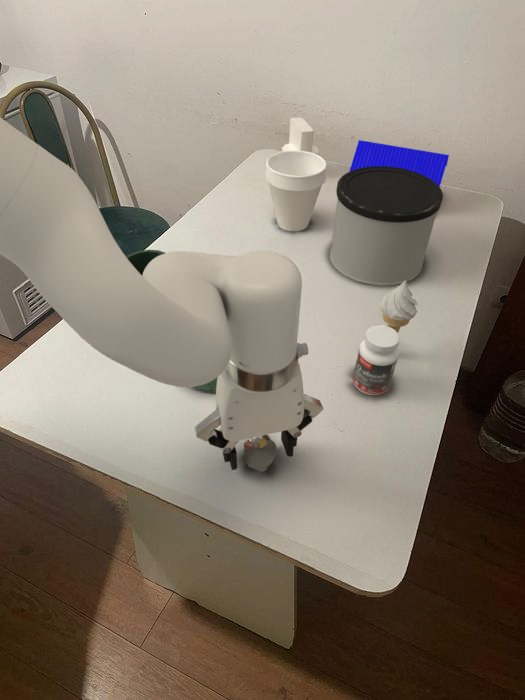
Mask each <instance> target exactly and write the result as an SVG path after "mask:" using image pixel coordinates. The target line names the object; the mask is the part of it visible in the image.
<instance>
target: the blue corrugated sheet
mask: <svg viewBox="0 0 525 700" xmlns="http://www.w3.org/2000/svg"><path fill="white" fill-rule="evenodd" d="M449 158H450V154H446V153H439V152H433V151H427V150H422V149H415V148H409V147H404V146H398V145H391V144H384V143H380V142H372V141H367V140H362V139H361V140H360V139H358V141H357V145H356V148H355V152H354V155H353V158H352V163H351V165H350V168H349V171H348V172H350V171H352V170H355V169H359V168H364V167H372V166H388V167H397V168H402V169H407V170H411V171H414V172H417V173H419V174H422V175H424V176H426V177H428V178H430V179H431V180H433V181H434V182H435V183H436V184H437V185H438V186H439V187H440V188H441V185H442V181H443V178H444V173H445V170H446V167H447V166H448V162H449Z"/></svg>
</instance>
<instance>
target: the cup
mask: <svg viewBox="0 0 525 700" xmlns="http://www.w3.org/2000/svg"><path fill="white" fill-rule="evenodd" d="M327 167H328V164H327V161H326V160H325V159H324V158H323V157H322V156H320V155H319V154H318V155H317V154H314V153H311V152H307V151H299V150H290V151H283V152H282V151H279V152H275V153H274V154H271V155H270V156H269V157H268V158H267V160H266V168H265V180H266V181H267V182H268V186H269V191H270V196H271V200H272V205H273V210H274V214H275V218H276V222H277V225H278V227H279V228H280V229H282V230H284V231H287V232H301V231H303V230H305V229H307V228H308V226H309V224H310V221H311V218H312V215H313V213H314V209H315V206H316V204H317V201H318V197H319V195H320V192H321V189H322V186H323V185H324V184H325V182H326V179H327Z"/></svg>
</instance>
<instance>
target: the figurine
mask: <svg viewBox="0 0 525 700" xmlns="http://www.w3.org/2000/svg"><path fill="white" fill-rule="evenodd" d="M242 449H243V458H244V461H245V463H246V465H247V467H249V468H251V469H253V470H257V471H259V472H265V471H267V469H269V466H270V465H272V464H273V461H274V460H275V458H276V455H277V449H278V448H277V444H276V443H275V441H273V440H272V439H271V437H270V434H268V435H263V436H261V437H260V436H259V437H255V438H249V439H244V442H243V447H242Z"/></svg>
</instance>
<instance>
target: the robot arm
mask: <svg viewBox="0 0 525 700" xmlns="http://www.w3.org/2000/svg"><path fill="white" fill-rule="evenodd" d="M0 256H2V257H3V258H5V259H7V260H8V261H10V262H12V263H13V264H14V265H15V266H16V267H18V269H19V270H21V271H22V272H23V274H24V275H25V277H26V278H27V279H28V281H29V282H30V283H31V285H32V286H33V287H34V288H35V289H36V291H37V292H38V293H39V295H40V296H41V297H42V298H43V299H44V301H46V302H47V304H48V305H49V306H50V307H51V308H52V309H53V310H54V311H55V312H56V313H57V314H58V315H59V317H61V318H62V319H63V321H64V322H65V323H66V324H67V325H68V326H69V327H70V329H72V330H73V331H74V332H75V333H76V334H77V335H78V336H79V337H80V338H81V339H82V340H83V341H84V342H85V343H87V344H88V345H89V346H91V347H92V348H93V349H94V350H96V351H98V353H100V354H101V355H102V356H105V357H106V358H108V359H109V360H111V361H113V362H115V363H117V364H119V365H121V366H124V367H125V368H127V369H130V370H131V371H134V372H135V373H138V374H140V375H142V376H144V377H146V378H148V379H150V380H152V381H155V382H158V383H160V384H165V385H168V386H172V387H179V388H192V387H195V386H200V385H204V384H206V383H209V382H211V381H212V380H214V379H215V378H217V377H218V378H217V386H216V391H215V410H214V411H212V412H211V414H209V415H208V416H207V417H205V418H204V419H203V420H202V421H200V422H199V423H198V424H196V425H195V426H194V432H195V436H196V438H197V439H200V440H202V441H204V442H208V444H209V445H210V446H213V447H216V448H219V449H222V451H221V452H222V456H223V461H224V463H229V465H230V468H231V471H236V470H237V469H238V454H237V448H236V445H237V444H238V443H239V441H245V440H247V439H249V440H250V438H251V439H252V438H253V439H255V438H256V437H259V438H260V437H262V436H263V435H272V434H277V433H280V432H281V434H280V441H281V444H282V446H283V449H284V451H285V455H286V457H288V458H292V457H294V449H295V447H297V445H298V438H299V437H301V436H302V433H303V432H302V431H303V430H304V429H305V428H307V426H309V425H310V424H312V422H313V418H316V417H317V416H318V415H319V414H320V413H322V411H324V405H323V404H322V402H321V400H320V399H317V398H315V397H313V396H310V395H308V394H305V392H304V381H303V376H302V369H301V366H300V363H299V359H300V358H302V356H307V355H309V347H308V344H307V342H302V343H300V342H298V336H299V325H300V314H301V313H300V312H301V309H300V308H301V301H302V300H301V299H302V285H303V282H302V281H303V280H302V275H301V272H300V269H299V267H298V266H297V265H296V264H295V262H294V261H293V260H292V259H290V258H289V257H287V256H285V255H284V254H280V253H278V252H275V251H270V250H254V251H249V252H246V253H243V254H240V255H225V254H215V253H208V252H207V253H205V252H199V251H198V252H197V251H182V250H181V251H180V250H179V251H178V250H177V251H169V252H165V254H162V255H159V256H157V257H156V258H154V259H153V260H152V261H150V262H149V263H148V265H147V266H146V268H145V270H144V272H143V275H141V274H140V273H139V272H138V271H137V270H136V269H135V267H134V266H133V265H132V264H131V263H130V261H129V260H128V259H127V257H126V256H127V255H125V253H124V252H123V250H122V249H121V247H120V246H119V245H118V242H117V241H116V239H115V238H114V236H113V234H112V232H111V230H110V229H109V227H108V225H107V223H106V220H105V219H104V217H103V214H102V212H101V211H100V209H99V206H98V205H97V202H96V201H95V198H94V196H93V195H92V193H91V192H90V190H89V188H88V187H87V185H86V184H85V183H84V181H83V179H81V177H80V176H79V174H78V173H77V172H76V171H75V170H74V169H72V168H71V167H70V166H69V165H68V164H66V163H65V162H64V161H62V160H60V159H59V158H57V157H56V156H55V155H53V154H52V153H51V152H49V151H47V149H45V148H44V147H42V146H41V145H40V144H38V143H37V142H35V141H34V140H32V139H31V138H30V137H29V136H27V135H25V134H24V133H22V132H21V131H20V130H18V129H17V128H16V127H14V126H13V125H12V124H10V123H9V122H7V121H6V120H4V119H3V118H2V117H1V116H0ZM219 426H220V430H219V429H218V427H219Z"/></svg>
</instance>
